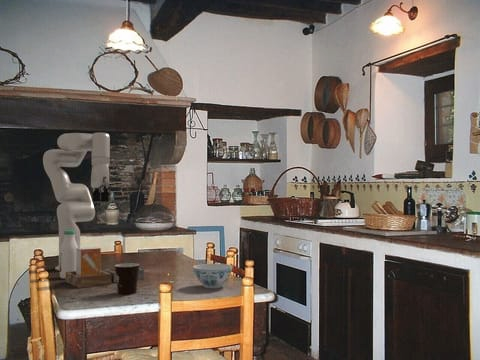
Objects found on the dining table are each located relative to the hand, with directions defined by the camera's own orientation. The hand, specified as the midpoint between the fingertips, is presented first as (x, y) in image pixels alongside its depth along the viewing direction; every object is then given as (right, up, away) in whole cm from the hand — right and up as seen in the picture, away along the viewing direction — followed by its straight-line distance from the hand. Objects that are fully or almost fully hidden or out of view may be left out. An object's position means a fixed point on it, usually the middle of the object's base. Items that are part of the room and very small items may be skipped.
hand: (100, 201), depth 213 cm
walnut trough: (-1, -32, -15) cm, 35 cm away
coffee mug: (+19, -32, -36) cm, 52 cm away
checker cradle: (+11, -32, -6) cm, 35 cm away
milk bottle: (-13, -33, -2) cm, 35 cm away
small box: (-1, -31, -15) cm, 35 cm away
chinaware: (+49, -32, -23) cm, 63 cm away
